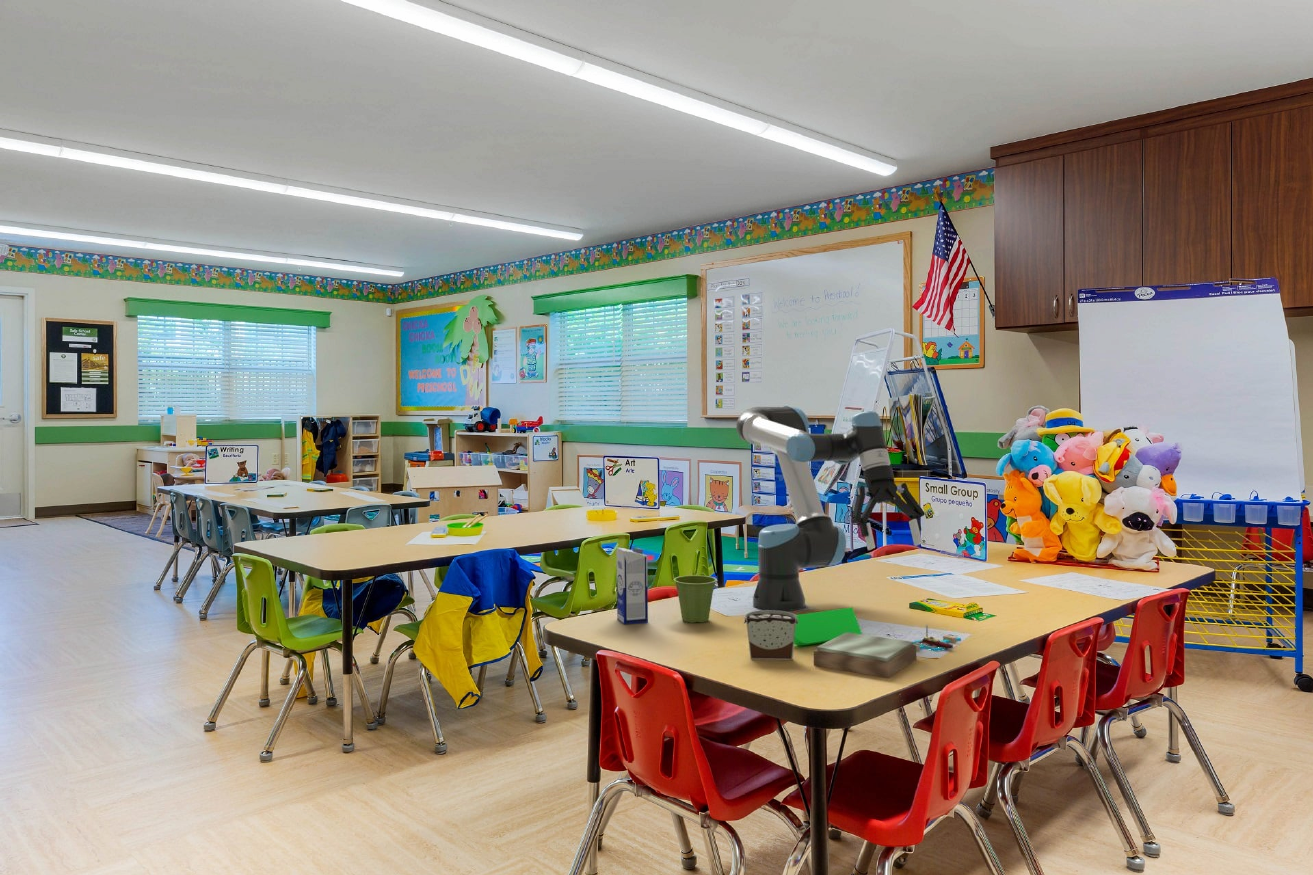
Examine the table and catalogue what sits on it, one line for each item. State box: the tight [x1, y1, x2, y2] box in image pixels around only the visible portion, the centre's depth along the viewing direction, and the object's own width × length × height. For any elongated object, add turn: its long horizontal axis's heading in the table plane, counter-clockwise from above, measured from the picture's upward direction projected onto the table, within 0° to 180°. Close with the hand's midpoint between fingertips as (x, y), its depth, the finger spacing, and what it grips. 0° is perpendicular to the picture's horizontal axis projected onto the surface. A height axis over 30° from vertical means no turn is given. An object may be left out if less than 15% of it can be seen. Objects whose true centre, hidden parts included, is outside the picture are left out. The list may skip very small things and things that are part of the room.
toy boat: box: [911, 623, 962, 652], centre depth 204 cm, size 20×5×9 cm
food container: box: [743, 609, 799, 661], centre depth 197 cm, size 12×6×10 cm, turn 84°
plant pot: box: [673, 574, 718, 624], centre depth 233 cm, size 12×12×11 cm
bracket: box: [794, 606, 863, 647], centre depth 213 cm, size 20×10×7 cm, turn 117°
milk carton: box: [616, 546, 649, 625], centre depth 234 cm, size 7×7×20 cm
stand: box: [813, 632, 917, 679], centre depth 191 cm, size 17×17×4 cm
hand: (895, 546), depth 221 cm, fingers open, 13 cm apart
